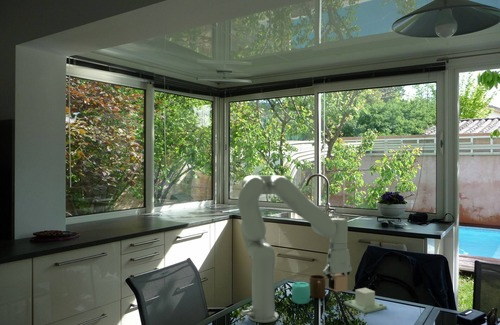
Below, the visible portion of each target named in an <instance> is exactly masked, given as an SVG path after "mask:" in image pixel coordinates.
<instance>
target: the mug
mask: <svg viewBox="0 0 500 325" xmlns="http://www.w3.org/2000/svg"><path fill="white" fill-rule="evenodd" d="M309 287H310V298H313V299H323V298H326V277H325V276H324V275H321V274H312V275H310V276H309Z"/></svg>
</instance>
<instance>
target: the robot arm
mask: <svg viewBox="0 0 500 325" xmlns="http://www.w3.org/2000/svg"><path fill="white" fill-rule="evenodd" d="M262 195H276V196H277V198H279V199H280V200H281V201H282V202H283V203H284V204H285V205H286V206H287V207H288V208H289V209H290V210H291V211H292V212H293V213H295V214H296V215H297V216H299V217H301V218H302V219H304V220H305V221H306V222H308V223H309V224H310V227H311V229H312V231H313V232H314V233H316V234H318V235H320V236H322V237H324V238H329V244H328V245H327V247H328V248H329V249H328V251H327V256H326V266H325V267H324V269H323V270H322V273H323V274H324V275H325V276H326V278H327V280H328V279H329V284H328V283H327V286H328V285H329V288H331V289H334V280H333V279H334V275H335V274H339V273H340V274H343V275H345V276H348V277H349V275H350V273H351V272H352V270H353V267H352V266H351V255H350V250H349V248H348V231H349V230H348V228H349V226H348V219H346V218H344V217H333V218H332V217H330V216H329V215H328V214H327V213H326V212H325V211H324V210H323V209H321V208H320V207H319V206H317V205H316V204H315V203H314V201H312V200H311V199H310V198H308V197H307V196H306V195H305V194H304V193H303V192H302V191H301V190H300V189H299V188H298V187H297V186H296V185H295V184H294V183H293V182H292V181H291V180H290V179H289V178H288V177H286V176H284V175H278V174H276V175H269V174H268V175H264V174H263V175H262V174H260V175H259V174H258V175H257V174H256V175H255V174H251V175H250V174H249V175H247V176H245V177H244V178H243V179H242V182H241V190H240V192H239V195H238V197H237V198H238V199H237V206H238V211H239V214H240V218H241V224H240V231H241V235H242V238H243V241H244V244H245V247H246V251H247V253H248V255H249V256H250V258H251V259H252V266H251V305H250V306H249V308H248V309H246V310H242V311H241V312H240V313H241V316H242V317H243V316H247V317H248V318H249V320H250V321H252V322H255V323H259V324H260V323H261V324H263V323H264V324H265V323H266V324H267V323H273V322H276V321H277V320H278V319H279V313H278V312H277V311H276V307H275V304H276V302H275V295H276V294H275V267H276V257H277V256H276V252H275V249H274V247H273V246H272V245H271V244H270V243H269V242H267V239H266V235H267V234H266V233H267V228H266V225H265V222H264V219H263V218H264V217H263V216H262V213H261V209H260V204H259V200H260V197H261V196H262ZM331 274H332V275H331ZM329 288H328V289H329ZM331 289H330V290H331Z"/></svg>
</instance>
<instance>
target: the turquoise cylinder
mask: <svg viewBox="0 0 500 325" xmlns="http://www.w3.org/2000/svg"><path fill="white" fill-rule="evenodd" d="M291 286H292V287H291V288H292V289H291V294H292V296H291V300H292V302H293V303H294V304H298V305H305V304H306V305H307V304H308V303H310V298H311V296H310V283H308V282H305V281H296V282H293V283H292V285H291Z"/></svg>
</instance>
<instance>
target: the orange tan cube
mask: <svg viewBox="0 0 500 325" xmlns="http://www.w3.org/2000/svg"><path fill="white" fill-rule="evenodd" d="M331 275H332V274H331ZM348 279H349V275H348V276H345V275H343V274H341V273H339V274H335V275H334V279H333V280H334V289H331V288H329V285H328V284H329V279H328V278H327V289H329V290H331V291H333V292H335V293H338V292H344V291H348Z"/></svg>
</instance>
